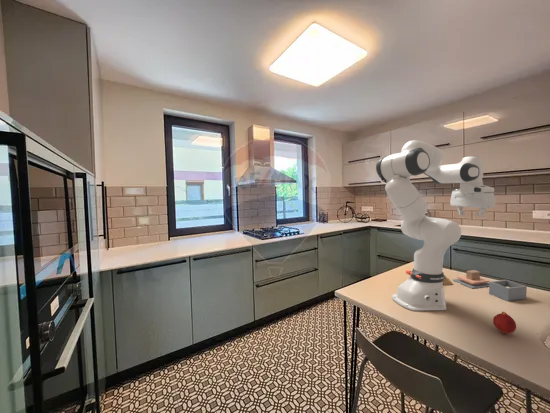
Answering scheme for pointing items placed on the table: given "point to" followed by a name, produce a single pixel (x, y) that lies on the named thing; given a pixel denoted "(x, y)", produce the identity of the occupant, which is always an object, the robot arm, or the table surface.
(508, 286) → the storage box
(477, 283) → the lid
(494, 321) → the onion
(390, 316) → the table surface
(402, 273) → the table surface
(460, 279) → the mat
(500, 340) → the table surface
